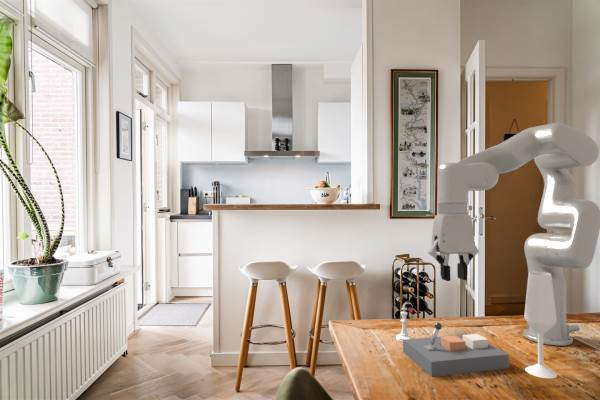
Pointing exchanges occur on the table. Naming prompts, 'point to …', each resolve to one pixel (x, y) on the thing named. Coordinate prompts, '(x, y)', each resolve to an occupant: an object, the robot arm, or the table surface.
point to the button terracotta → (453, 343)
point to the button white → (475, 341)
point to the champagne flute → (540, 316)
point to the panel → (453, 357)
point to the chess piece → (403, 327)
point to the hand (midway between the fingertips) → (454, 278)
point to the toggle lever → (435, 333)
